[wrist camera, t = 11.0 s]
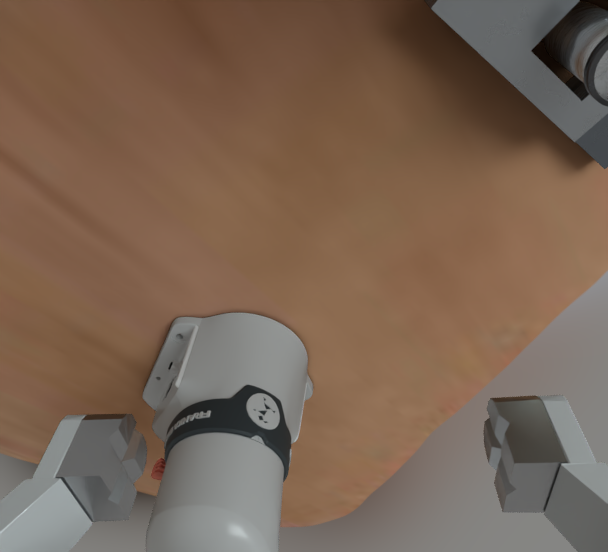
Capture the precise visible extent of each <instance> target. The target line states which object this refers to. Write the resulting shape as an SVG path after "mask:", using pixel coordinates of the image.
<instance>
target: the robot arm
mask: <svg viewBox="0 0 608 552" xmlns="http://www.w3.org/2000/svg"><path fill="white" fill-rule="evenodd" d="M179 334H181V335H179ZM307 366H308V357H307V352H306V349H305V347H304V345H303V343H302V342H301V340H300V339H299V338H298V337H297V336H296V334H294V333H293V332H292V331H291V330H290V329H289V328H287V327H286V326H284V325H282V324H281V323H279V322H277V321H275V320H272V319H270V318H267V317H264V316H260V315H256V314H250V313H226V314H220V315H216V316H212V317H207V318H195V317H179V318H176V319H175V320H174V321H173V323H172V325H171V328H170V330H169V332H168V335H167V337H166V339H165V341H164V344H163V346H162V348H161V351H160V353H159V355H158V358H157V360H156V362H155V365H154V367H153V369H152V371H151V374H150V376H149V378H148V381H147V383H146V385H145V388H144V391H143V396H142V397H143V399H144V400H145V401H146V403H147V404H148V405H149V406H150V407H152V408H153V409H154V410H155V411H156V413H155V416H154V420H153V423H152V428H153V431H154V432H155V434H156V435H157V436H158V437H159V438H160V439H161V440H162V441H163V442H165V444H164V449H165V460H164V459H162V458H160V459H159V460H158V461H157V462H156V464H155V466H154V468H153V470H152V474H151V476H152V478H153V479H157V480H161V483H160V486H159V490H158V493H157V497H156V500H155V504H154V508H153V512H152V515H151V518H150V522H149V525H148V529H147V534H146V552H279V532H280V519H281V504H282V491H283V482H284V481H285V479H286V477H287V475H288V470H289V466H290V462H291V444H292V443H293V442H296V440H297V439H298V436H299V431H300V425H301V419H302V413H303V406H304V401H305V400H307V399H309V398H310V397H311V396H312V393H313V384H312V382H311V380H310V378H309V376H308V374H307ZM487 411H488V414H489V417H490V418H489V419H487V420H486V421H485V424H484V445H485V450H486V455H487V459H488V462H489V464H490V465H491V466H492V467H493V468H494V469H495V470H496V476H495V482H494V484H495V487H496V491H497V494H498V498H499V501H500V504H501V508H502V511H503V512H545V513H544V515H545V516H546V517H547V518H548V519H549V521H550V522H551V523H552V524H553V525H554V526H555V527H556V528H557V529H558V531H559V532H560V533H561V534H562V535H563V536H564V537H565V538H566V539H567V540H568V541H569V542H570V544H571V545H572V546H573V547H574V548H575V549H576V550H577V551H578V552H608V465H607V464H606V463H604V462H602V463H601V462H596V460H595V457H594V455H593V453H592V451H591V449H590V447H589V445H588V443H587V441H586V439H585V437H584V435H583V433H582V430H581V428H580V426H579V424H578V422H577V420H576V418H575V416H574V414H573V412H572V409H571V408H570V405H569V403H568V401H567V399H566V398H565V397H564V396H563V395H551V396H520V397H502V398H490V400H489V401H488V406H487ZM135 426H136V421H135V419H134V417H133V415H132V414H92V415H89V414H88V415H67V416H66V417H65V418H64V419H62V420H61V422H60V424H59V426H58V428H57V429H56V431H55V433H54V435H53V437H52V439H51V441H50V443H49V445H48V447H47V449H46V451H45V453H44V455H43V457H42V459H41V461H40V463H39V465H38V467H37V470H36V471H35V473H34V475H33V477H32V479H25V480H24V481H23V482H22V483H21V484H19V485H18V486H17V487H16V488H15V489H13V490H12V491H11V492H10V493H9V494H7V495H6V496H5V497H4V498H3V499H2V500H0V552H69V551H70V550H71V549H72V548H73V547H74V545H75V544H76V543H77V542H78V541H79V540H80V538H81V537H82V536H83V535H84V534H85V533H86V531H87V530H88V529H89V528H90V527H91V525H92V524H93V523H92V522H96V521H116V520H128V519H129V515H130V512H131V509H132V506H133V503H134V500H135V497H136V494H137V491H136V489H135V486H134V484H133V483H134V482H135V481H136V480H137V479H138V478H139V477H140V476H141V475H142V474H143V471H144V468H145V464H146V456H147V447H146V441H145V439H144V437H143V435H142V434H141V433H139V432H138V431H136V430H135V429H134V428H135Z"/></svg>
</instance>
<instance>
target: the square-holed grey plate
mask: <svg viewBox="0 0 608 552" xmlns="http://www.w3.org/2000/svg"><path fill="white" fill-rule="evenodd" d="M579 1H580V0H425V2H426V3H427V4H428V6H429V7H430V8H431V9H432V10H433V11H434V12H435V13H436V14H437V15H438V16H439V17H440V18H441V19H442V20H444V21H445V22H446V23H447V24H448V25H449V26H450V27H451V28H452V29H453V30H454V31H455V32H456V33H458V34H459V35H460V36H461V37H462V38H463V39H464V40H465V41H466V42H467V43H468V44H469V45H470V46H472V47H473V48H474V49H475V50H476V51H477V52H478V53H479V54H480V55H481V56H482V57H483V58H484V59H486V60H487V61H488V62H489V63H490V64H491V65H492V66H493V67H494V68H495V69H496V70H497V71H498V72H500V73H501V74H502V75H503V76H504V77H505V78H506V79H507V80H508V81H509V82H510V83H511V84H512V85H514V86H515V87H516V88H517V89H518V90H519V91H520V92H521V93H522V94H523V95H524V96H525V97H526V98H528V99H529V100H530V101H531V102H532V103H533V104H534V105H535V106H536V107H537V108H538V109H539V110H540V111H541V112H543V113H544V114H545V115H546V116H547V117H548V118H549V119H550V120H551V121H552V122H553V123H554V124H555V125H557V126H558V127H559V128H560V129H561V130H562V131H563V132H564V133H565V134H566V135H567V136H568V137H569V138H571V139H572V140H573V141H574V142H576V143H577V144H578V145H579V146H581V147H582V148H583V149H584V150H585V151H586V152H587V153H588V154H589V155H590V156H591V157H592V158H593V159H595V160H596V161H597V162H598V163H599V164H600V165H601V166H602V167H603V168H604V169H605V168H607V167H608V107H607V106H604V105H602V104H600V103H599V102H598V101H596V100H595V99H594V98H593V97H592V96H591V95H590V94H589V93H588V92H587V90H586V88H585V84H584V83H583V82H582V81H581V80H580V79H578V78H577V77H576V76H575V75H574V76H573V77H572V78H571V79H570V80H569V81H568V82H567V83H566V84H564V83H563V82H562V81H561V80H560V79H559V78H558V77H557V76H556V75H555V74H554V73H553V72H552V71H551V70H550V69H549V68H548V67H547V66H546V65H545V64H544V63H543V62H542V61H541V60H540V59H539V58H538V57H537V56H535V55H534V54H533V53H532V52H531V50H532V49H533V48H534V47H535V46H536V45H537V44H538V43H539V42H540V41H541V40H542V39H543V38H544V37H545V36H546V35H547V34H548V33H549V32H550V30H551V29H552V28H553V27H554V26H555V25H556V24H557V23H558V22H559V21H560V20H561V19H562V18H563V17H564V16H565V15H566V14H567V13H568V12H569V11H570V10H571V9H572V8H573V7H574V6H575V5H576V4H577V3H578V2H579Z"/></svg>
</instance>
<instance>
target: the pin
mask: <svg viewBox="0 0 608 552" xmlns="http://www.w3.org/2000/svg"><path fill="white" fill-rule="evenodd" d="M544 40H545V47H546V50H547V52H548V53H549V55H550V56H551V57H553V58H554V59H555V60H556V61H557V62H559V63H560V64H561V65H562V66H564V67H565V68H566V69H567V70H569V71H570V72H571V73H572V74H573V75H575V76H576V77H577V78H578V79H580V80H581V81H582V82H583V83H584V84H585V88H586V90H587V92H588V93H589V94H590V95H591V96H592V97H593V98H594V99H595V100H596V101H598V102H599V103H600V104H602V105H604V106H607V107H608V11H607V10H604V9H602V8H600V7H598V6H596V5H594V4H592V3H589V2H578V3H577V4H576V5H575V6H574V7H573V8H572V9H571V10H570V11H569V12H568V13H567V14H566V15H565V16H564V17H563V18H562V19H561V20H560V21H559V22H558V23H557V24H556V25H555V26H554V27H553V28H552V29H551V30H550V32H549V33H548V34H547V35H546V36H545V39H544Z"/></svg>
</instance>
